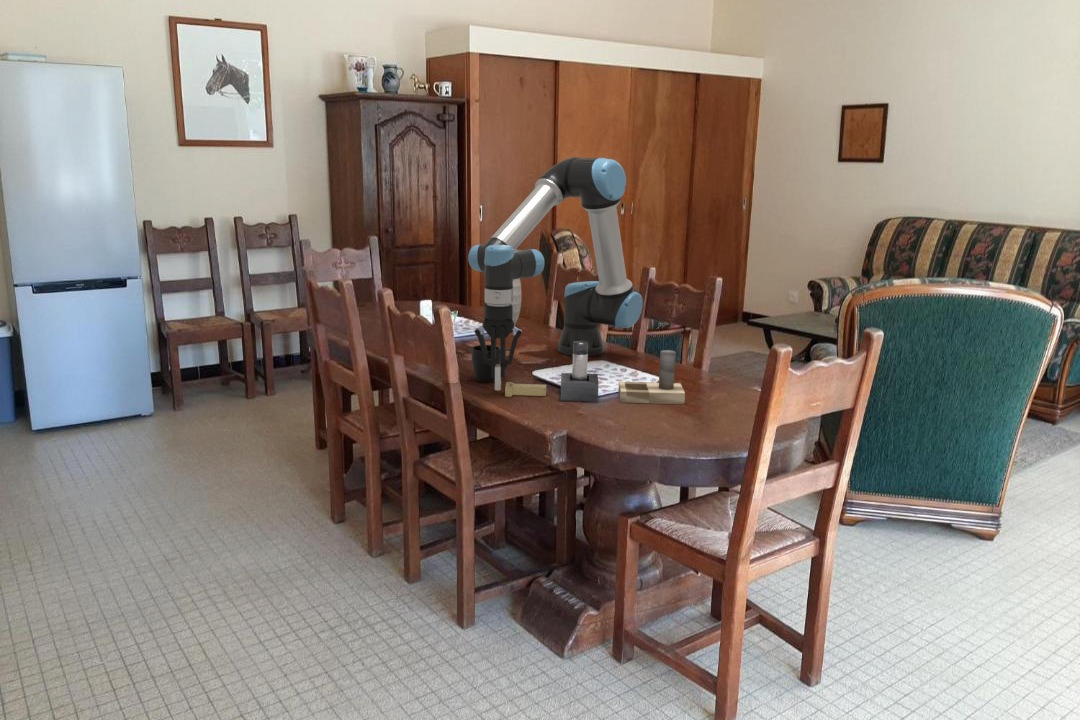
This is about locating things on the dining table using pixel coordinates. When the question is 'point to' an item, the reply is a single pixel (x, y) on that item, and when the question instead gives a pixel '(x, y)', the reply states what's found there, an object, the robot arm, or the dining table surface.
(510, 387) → the t-shaped block
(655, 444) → the dining table surface
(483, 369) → the mug
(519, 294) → the vase
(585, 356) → the round peg
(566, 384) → the socket
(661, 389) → the rack
